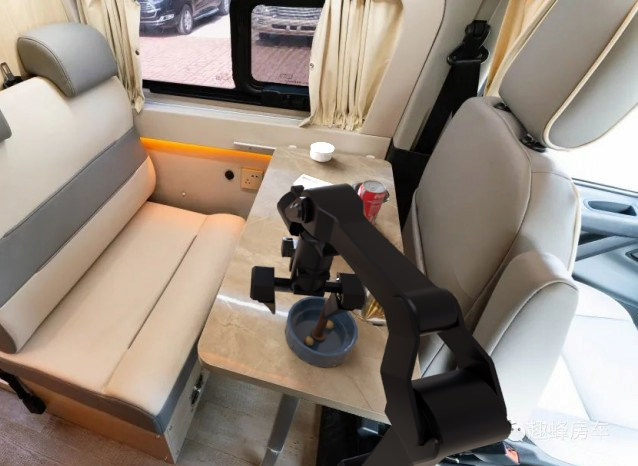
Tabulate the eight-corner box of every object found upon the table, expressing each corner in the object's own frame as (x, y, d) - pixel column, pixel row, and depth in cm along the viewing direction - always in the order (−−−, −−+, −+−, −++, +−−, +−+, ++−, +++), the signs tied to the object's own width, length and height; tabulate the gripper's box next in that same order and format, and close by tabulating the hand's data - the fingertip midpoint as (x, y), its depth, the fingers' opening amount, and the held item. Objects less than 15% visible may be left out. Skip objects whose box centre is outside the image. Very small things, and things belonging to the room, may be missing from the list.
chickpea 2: (334, 327, 72) (336, 322, 71) (328, 332, 71) (330, 327, 70) (327, 321, 73) (329, 316, 72) (321, 326, 73) (323, 321, 71)
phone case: (342, 191, 112) (302, 177, 119) (343, 187, 112) (303, 174, 118) (334, 201, 108) (293, 186, 115) (334, 198, 107) (293, 183, 114)
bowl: (365, 342, 70) (372, 329, 67) (321, 382, 64) (326, 370, 61) (314, 299, 79) (318, 286, 75) (271, 331, 72) (273, 318, 69)
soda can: (376, 218, 101) (390, 183, 92) (370, 232, 97) (384, 196, 88) (353, 211, 104) (364, 176, 95) (346, 223, 100) (358, 188, 91)
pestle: (328, 336, 71) (341, 303, 63) (319, 344, 69) (331, 312, 61) (317, 326, 73) (328, 293, 65) (307, 334, 71) (317, 301, 63)
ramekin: (308, 161, 127) (310, 151, 125) (309, 150, 134) (311, 141, 131) (332, 164, 126) (334, 153, 123) (331, 153, 132) (334, 143, 130)
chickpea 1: (314, 344, 69) (316, 339, 68) (308, 349, 68) (309, 344, 67) (307, 337, 71) (309, 332, 69) (301, 342, 70) (302, 337, 68)
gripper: (365, 226, 56) (343, 285, 66) (255, 219, 57) (250, 277, 68) (381, 277, 47) (352, 334, 58) (252, 266, 49) (247, 324, 60)
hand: (298, 314), depth 61 cm, fingers open, 9 cm apart
